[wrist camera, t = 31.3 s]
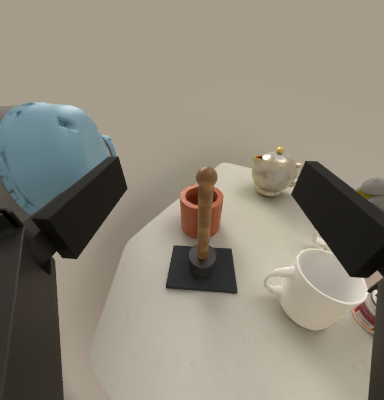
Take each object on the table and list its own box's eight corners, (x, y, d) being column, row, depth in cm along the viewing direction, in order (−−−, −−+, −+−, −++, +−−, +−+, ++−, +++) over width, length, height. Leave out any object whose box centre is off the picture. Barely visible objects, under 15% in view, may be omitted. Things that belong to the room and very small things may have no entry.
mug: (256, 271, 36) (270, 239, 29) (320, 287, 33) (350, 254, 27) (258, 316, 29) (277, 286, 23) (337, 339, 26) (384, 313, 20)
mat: (166, 288, 33) (165, 286, 33) (174, 246, 41) (173, 245, 41) (236, 293, 32) (237, 291, 32) (231, 250, 40) (231, 248, 40)
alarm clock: (369, 219, 48) (409, 173, 39) (392, 237, 43) (444, 189, 34) (329, 219, 49) (360, 173, 40) (346, 237, 43) (386, 188, 34)
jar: (174, 222, 48) (171, 194, 42) (201, 207, 53) (202, 180, 47) (199, 245, 41) (200, 215, 35) (227, 225, 47) (232, 196, 41)
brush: (183, 264, 36) (177, 166, 22) (202, 250, 39) (207, 156, 25) (201, 284, 33) (207, 182, 19) (220, 267, 36) (237, 168, 22)
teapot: (246, 199, 57) (258, 153, 47) (245, 179, 67) (254, 138, 58) (304, 206, 53) (329, 158, 44) (293, 184, 64) (311, 142, 54)
